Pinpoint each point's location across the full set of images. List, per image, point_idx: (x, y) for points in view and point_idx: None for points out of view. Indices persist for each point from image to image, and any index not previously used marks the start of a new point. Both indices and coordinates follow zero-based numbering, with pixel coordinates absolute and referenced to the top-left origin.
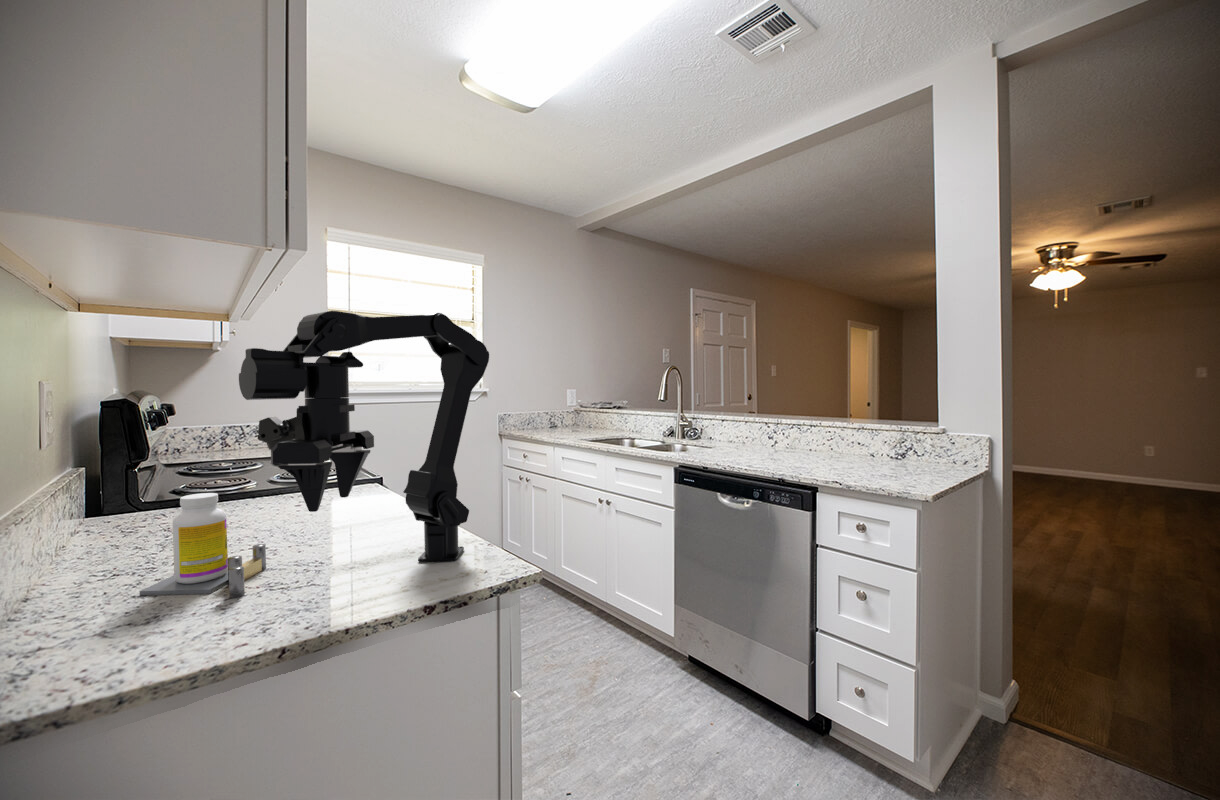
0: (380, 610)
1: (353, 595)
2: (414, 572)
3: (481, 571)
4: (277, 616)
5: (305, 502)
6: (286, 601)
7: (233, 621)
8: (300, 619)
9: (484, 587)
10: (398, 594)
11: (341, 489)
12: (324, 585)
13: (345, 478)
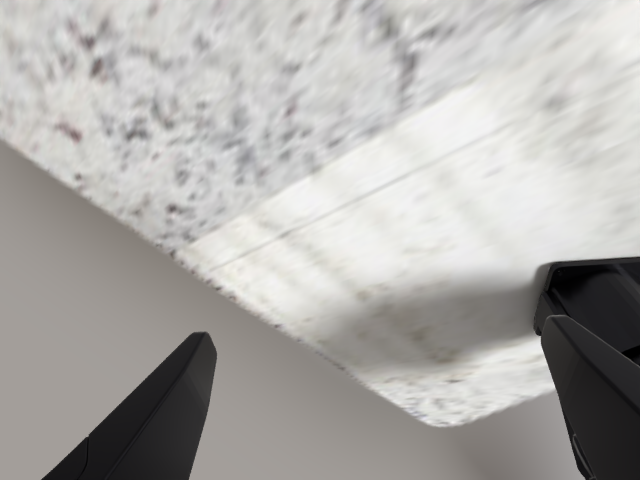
0: (267, 290)
1: (332, 214)
2: (473, 277)
3: (457, 375)
4: (197, 111)
5: (157, 367)
6: (281, 68)
7: (141, 7)
8: (199, 173)
9: (376, 390)
10: (342, 291)
11: (569, 360)
12: (400, 105)
13: (616, 449)
